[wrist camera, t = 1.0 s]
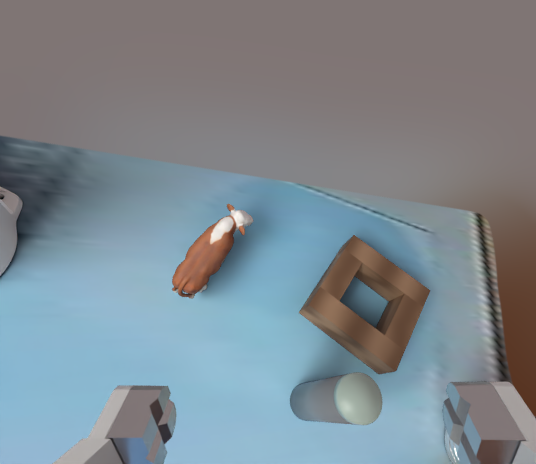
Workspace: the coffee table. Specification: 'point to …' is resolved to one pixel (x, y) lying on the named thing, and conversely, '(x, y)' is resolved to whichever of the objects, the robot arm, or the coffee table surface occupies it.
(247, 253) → the coffee table surface
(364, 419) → the grey domed cylinder
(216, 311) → the coffee table surface
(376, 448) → the coffee table surface
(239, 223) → the bull figurine
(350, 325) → the square wooden frame
